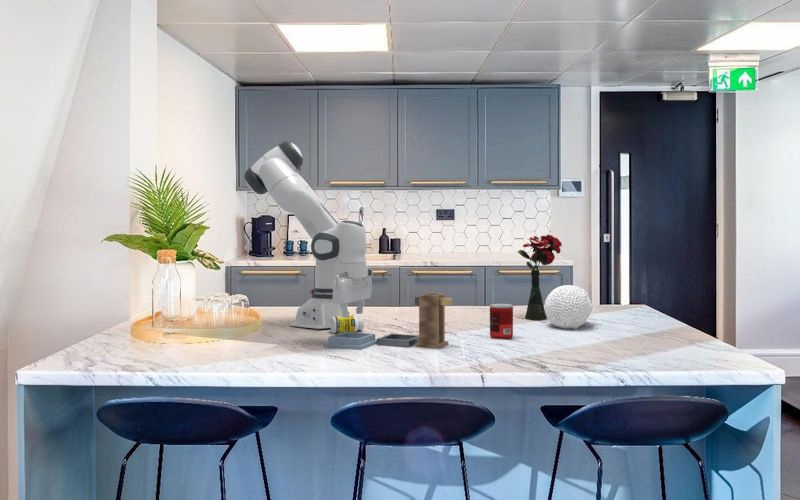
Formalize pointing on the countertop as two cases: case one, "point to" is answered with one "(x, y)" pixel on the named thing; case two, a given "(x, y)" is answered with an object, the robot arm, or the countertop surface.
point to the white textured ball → (568, 307)
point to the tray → (351, 340)
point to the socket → (398, 340)
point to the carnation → (545, 257)
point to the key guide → (431, 321)
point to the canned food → (501, 321)
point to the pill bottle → (346, 324)
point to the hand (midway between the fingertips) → (352, 315)
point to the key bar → (441, 301)
